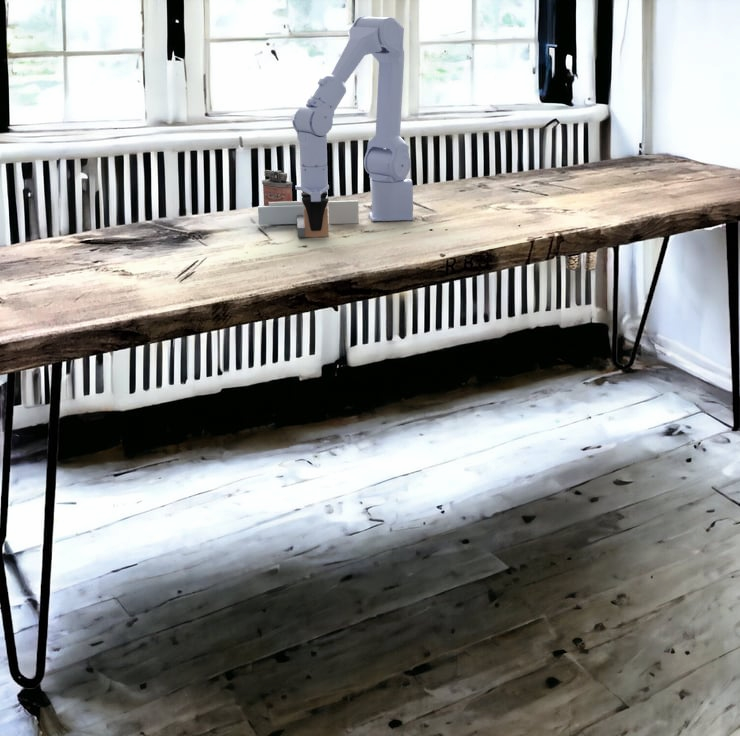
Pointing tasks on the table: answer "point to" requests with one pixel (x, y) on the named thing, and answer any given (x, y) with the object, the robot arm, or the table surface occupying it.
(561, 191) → the table surface
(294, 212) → the sliding door
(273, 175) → the lighter
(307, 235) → the block
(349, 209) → the white thin slab
